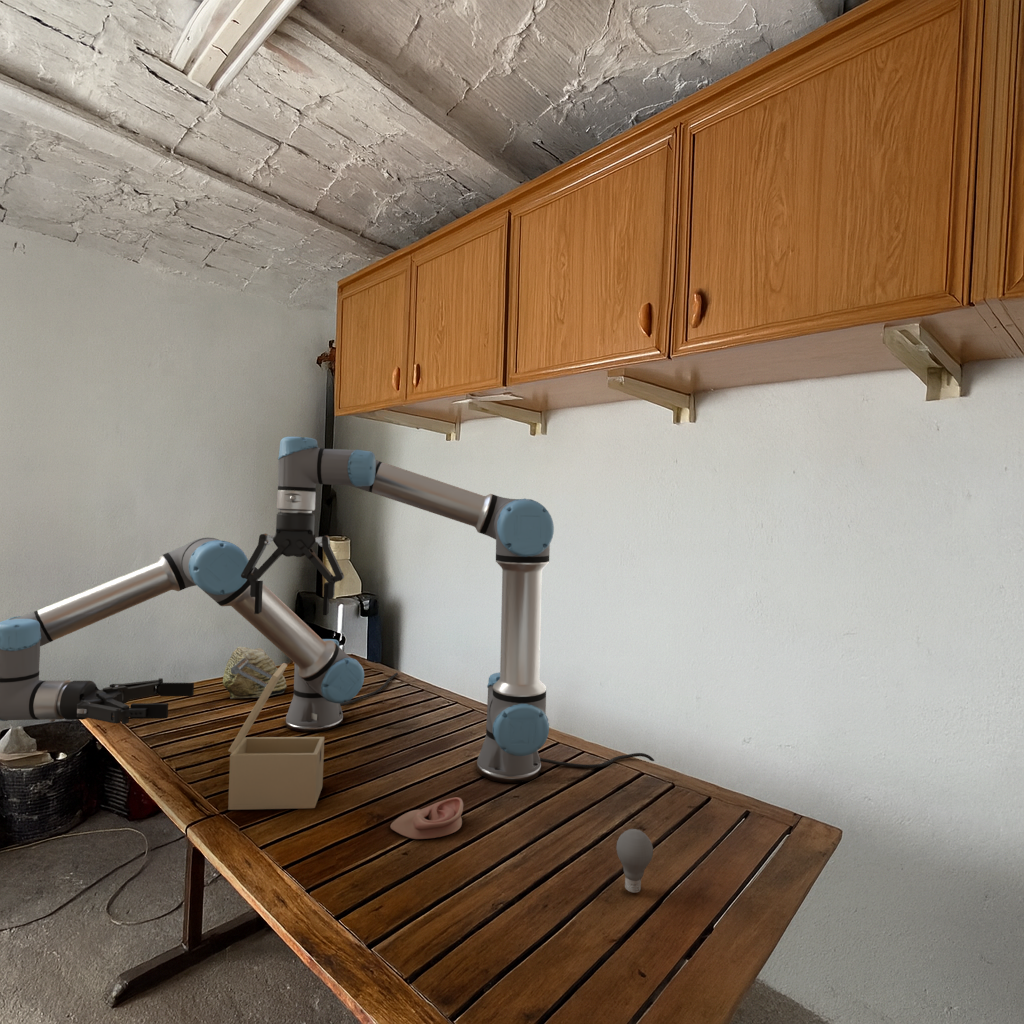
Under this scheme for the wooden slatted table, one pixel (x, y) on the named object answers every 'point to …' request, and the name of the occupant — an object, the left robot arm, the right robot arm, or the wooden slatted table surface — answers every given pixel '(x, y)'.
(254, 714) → the lid
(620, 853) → the light bulb
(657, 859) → the wooden slatted table surface
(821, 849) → the wooden slatted table surface
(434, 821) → the anatomical model
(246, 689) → the fossil
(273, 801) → the chest
